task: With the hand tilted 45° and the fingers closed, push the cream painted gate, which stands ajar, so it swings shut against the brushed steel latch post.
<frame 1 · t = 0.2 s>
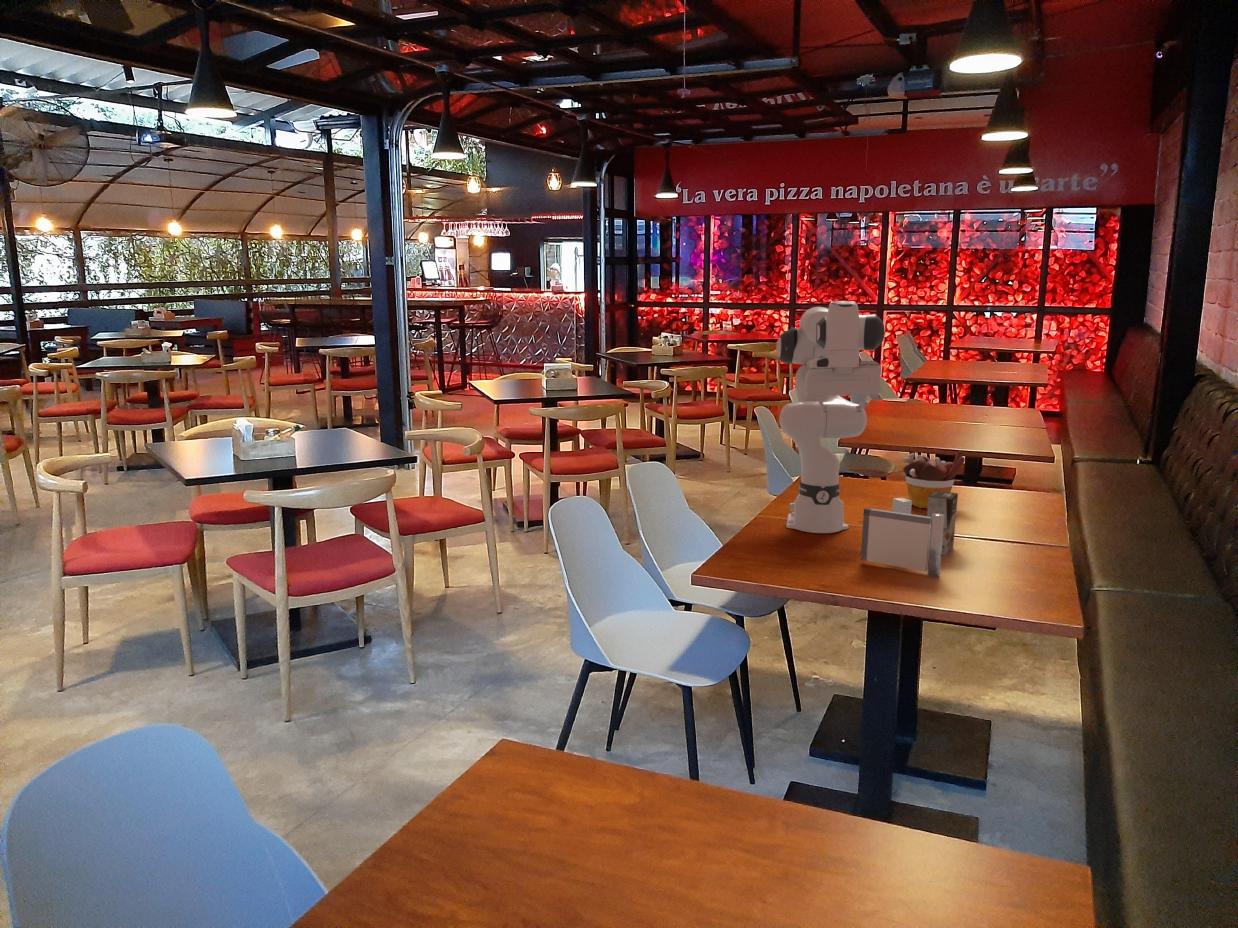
hand: (841, 412, 246), 39 cm above the table, tool pointing down, fingers open, 8 cm apart
bucket of meat: (929, 506, 306), on the table
latch post: (898, 556, 247), on the table
gate: (895, 539, 234), point 8 cm above the table, hinge at 35.0°
hinge post: (933, 575, 230), on the table
coffee box: (938, 550, 254), on the table
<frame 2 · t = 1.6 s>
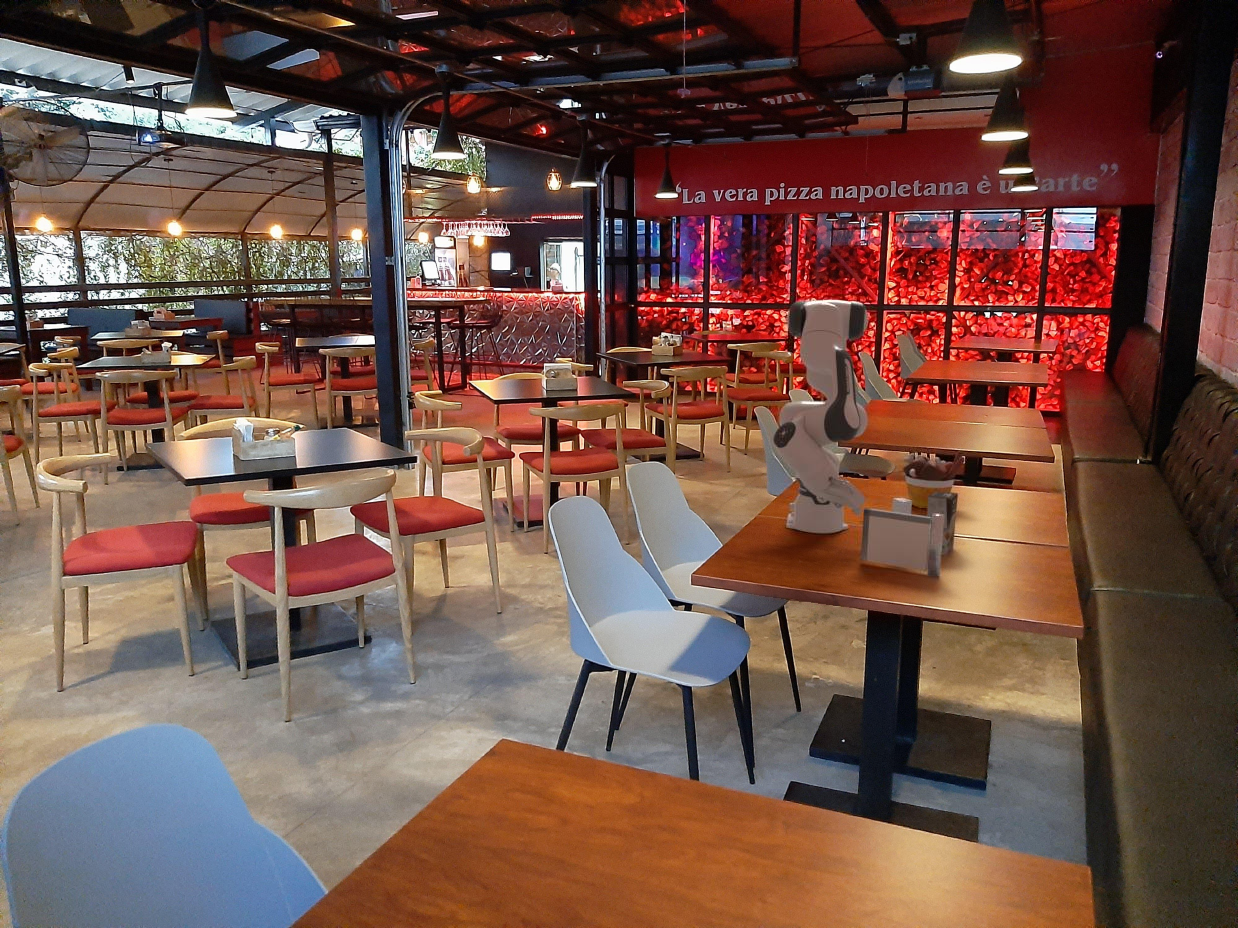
hand: (849, 509, 233), 16 cm above the table, tool tilted 45°, fingers open, 7 cm apart
nothing on the table moved.
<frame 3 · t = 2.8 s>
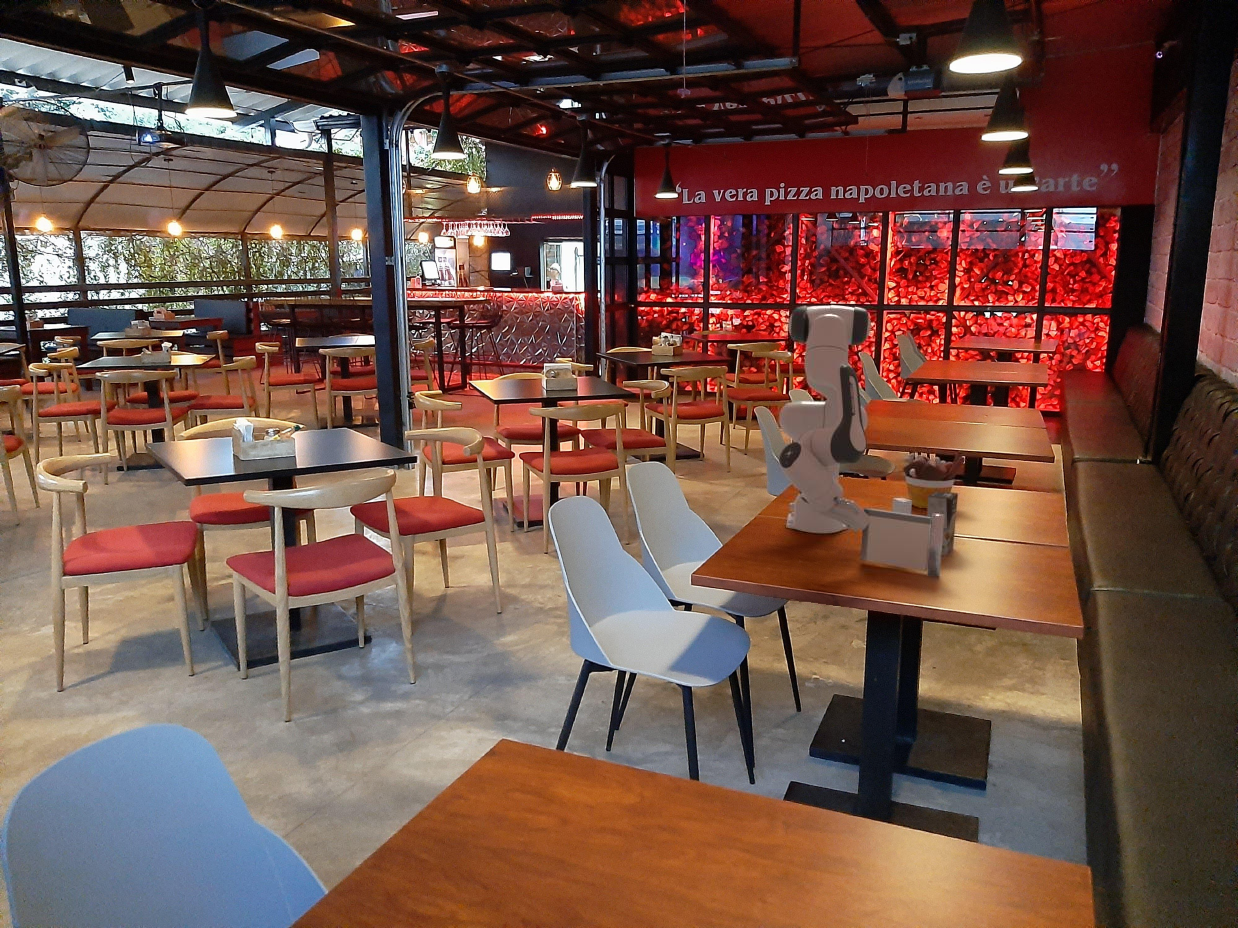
hand: (854, 528, 234), 11 cm above the table, tool tilted 45°, fingers closed
nothing on the table moved.
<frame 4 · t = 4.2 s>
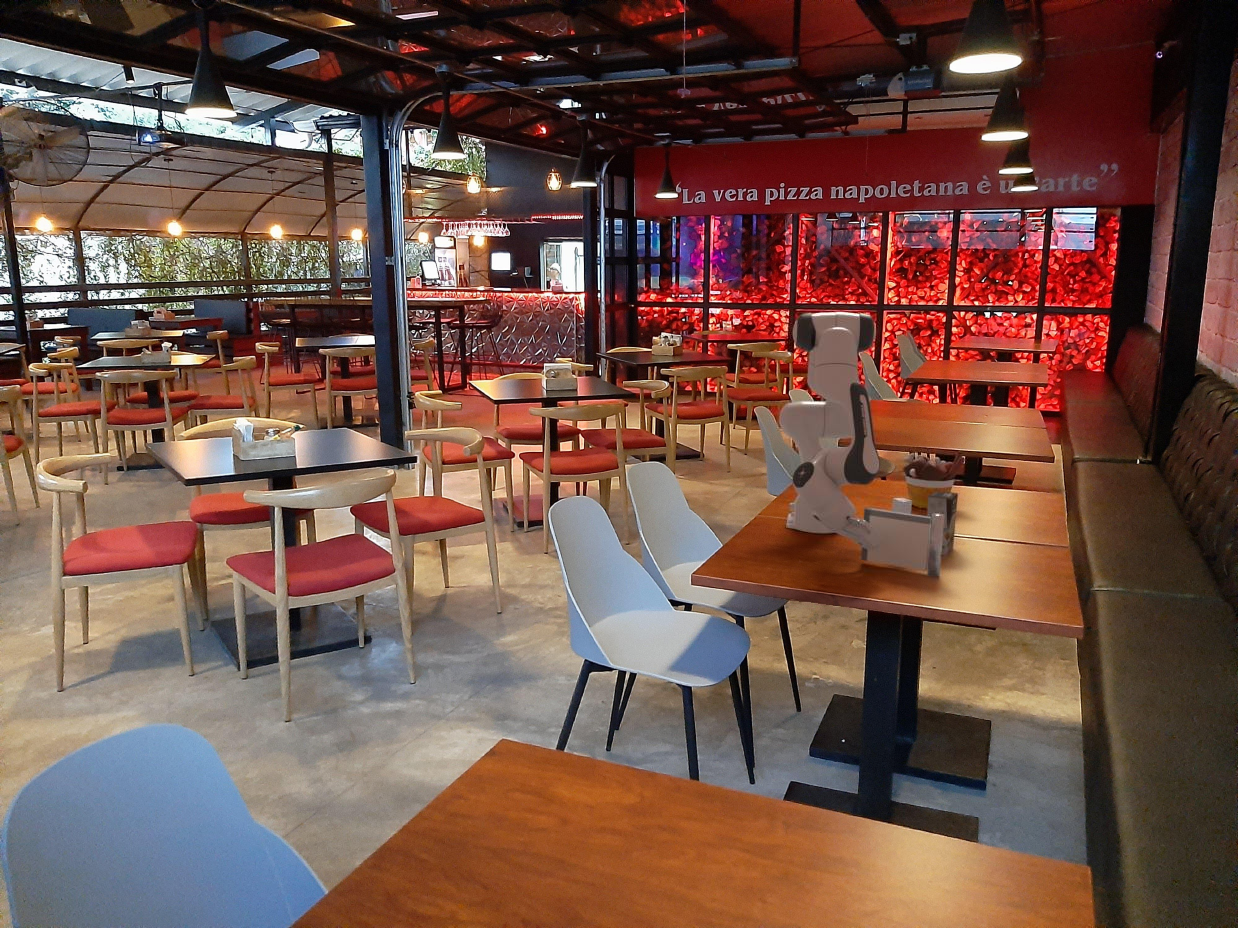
hand: (866, 546, 237), 5 cm above the table, tool tilted 45°, fingers closed
gate: (895, 538, 234), point 8 cm above the table, hinge at 33.7°
everything else where it was.
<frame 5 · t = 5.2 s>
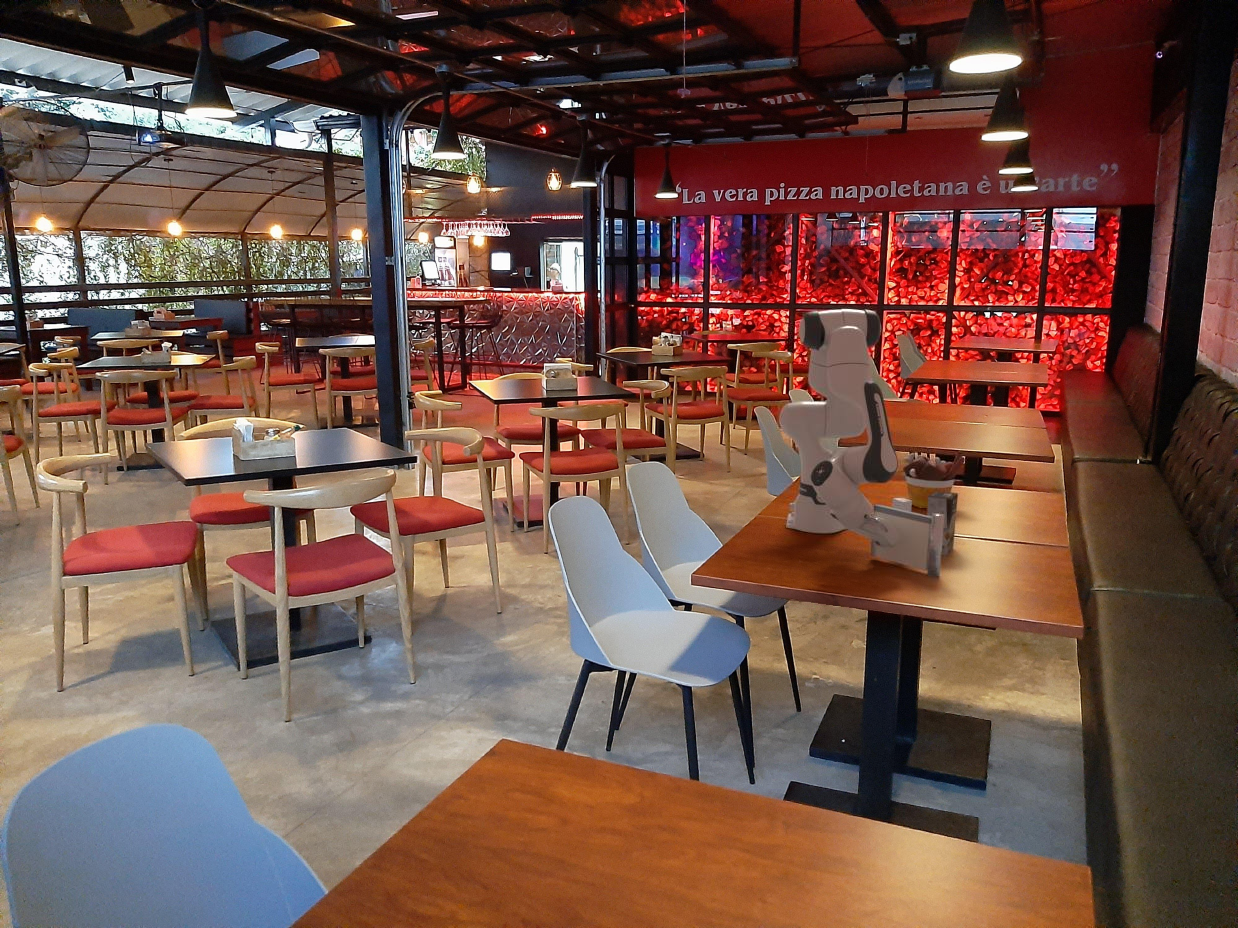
hand: (883, 544, 239), 5 cm above the table, tool tilted 45°, fingers closed
gate: (900, 536, 237), point 8 cm above the table, hinge at 16.6°, touching gripper
everything else where it was.
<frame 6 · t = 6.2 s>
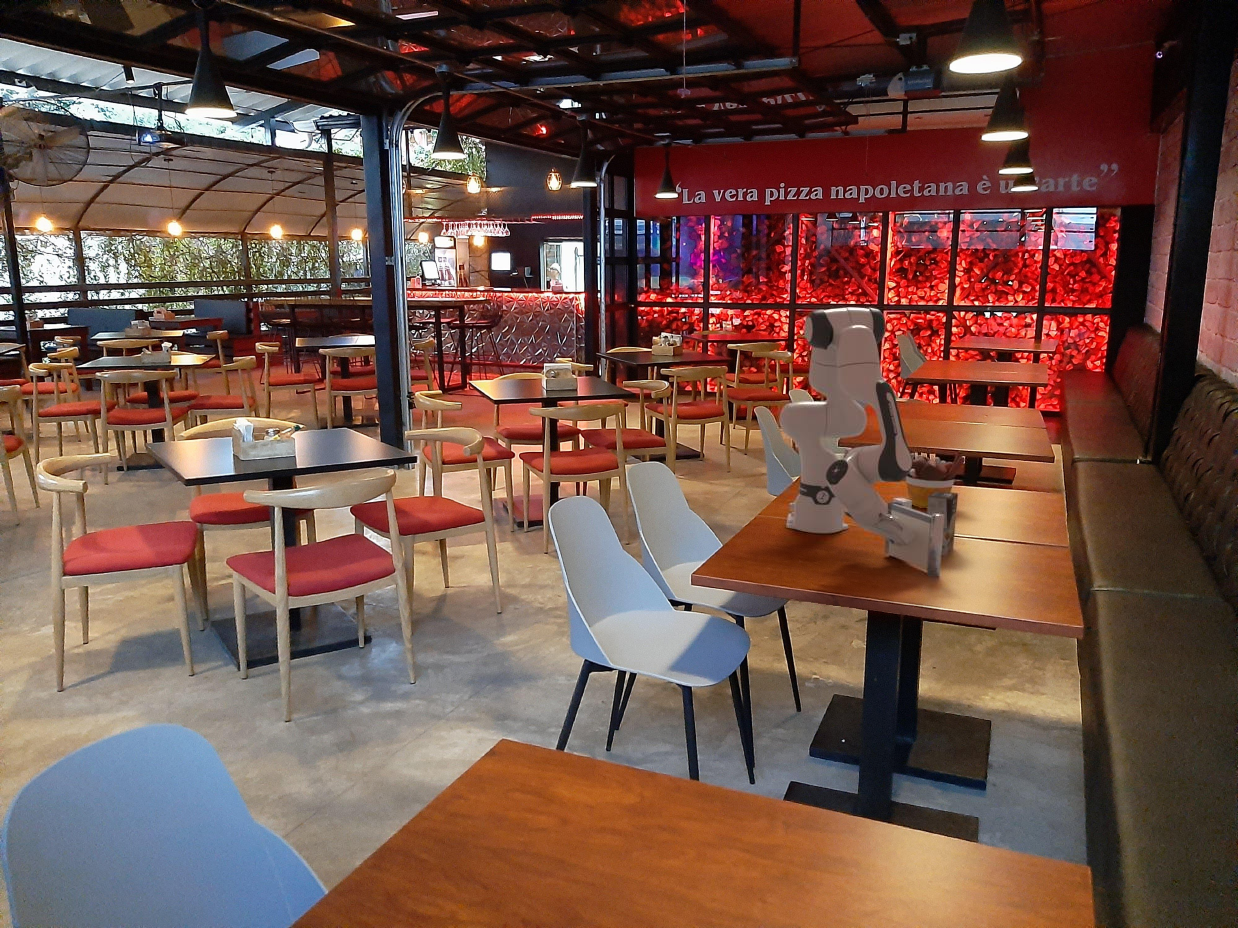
hand: (897, 543, 241), 5 cm above the table, tool tilted 45°, fingers closed, pressing on gate
gate: (909, 535, 238), point 8 cm above the table, hinge at -0.2°, touching gripper
everything else where it was.
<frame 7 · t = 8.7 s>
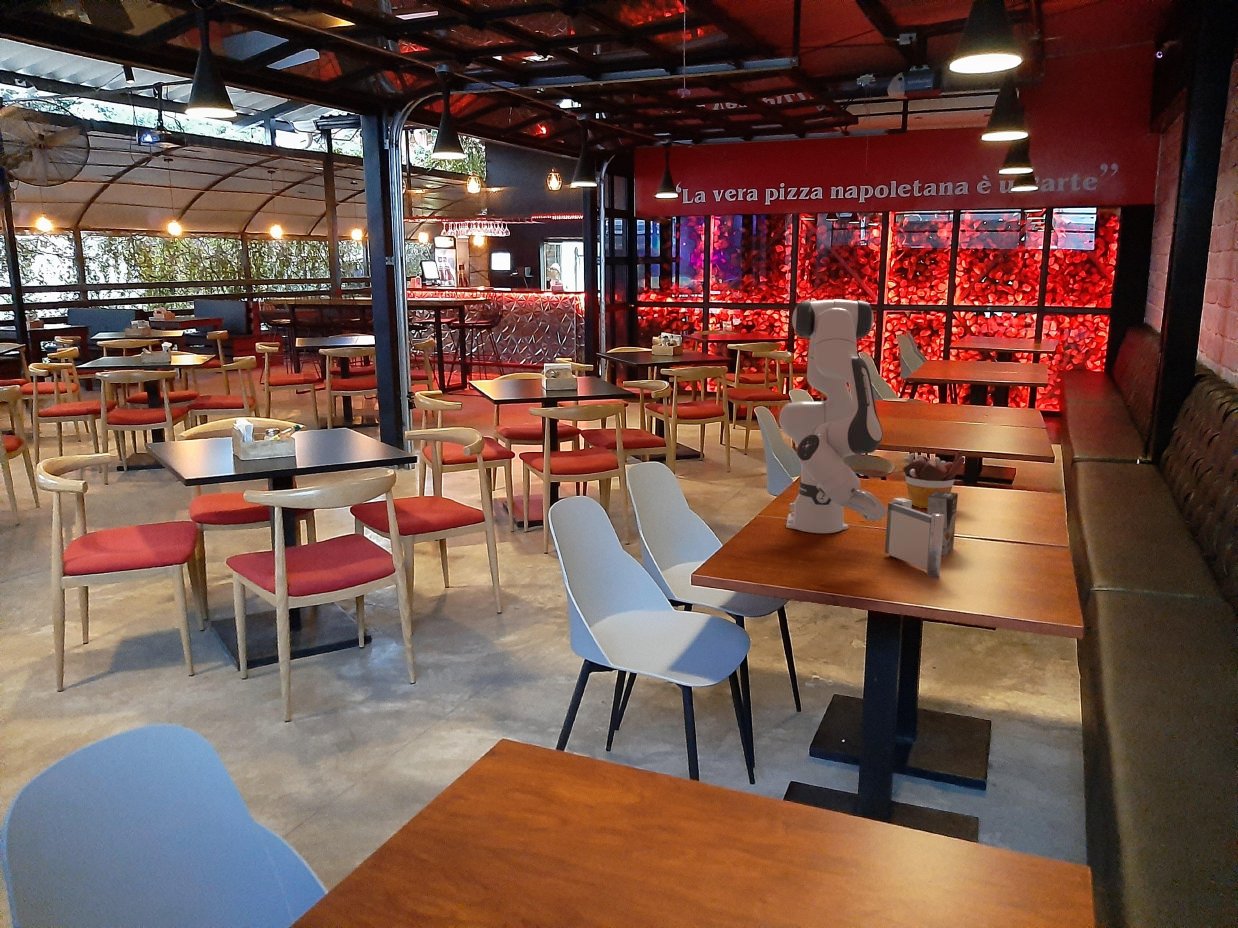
hand: (871, 518, 237), 13 cm above the table, tool tilted 45°, fingers closed
gate: (909, 535, 238), point 8 cm above the table, hinge at -0.3°
everything else where it was.
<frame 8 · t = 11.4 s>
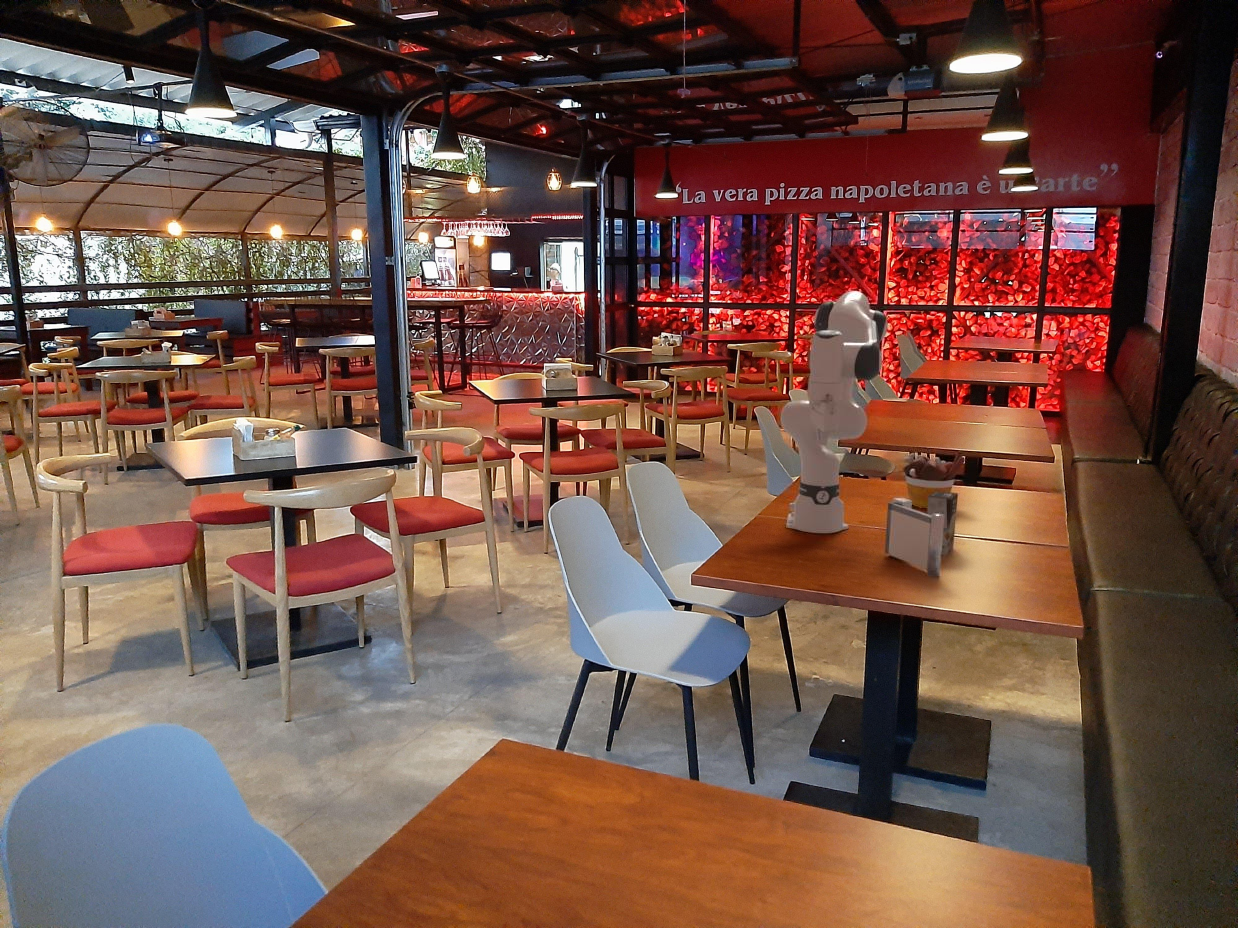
hand: (822, 444, 240), 31 cm above the table, tool pointing down, fingers closed
nothing on the table moved.
at the end: gate at +0° (first picture: +35°); coffee box moved 0.2 cm from its start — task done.
